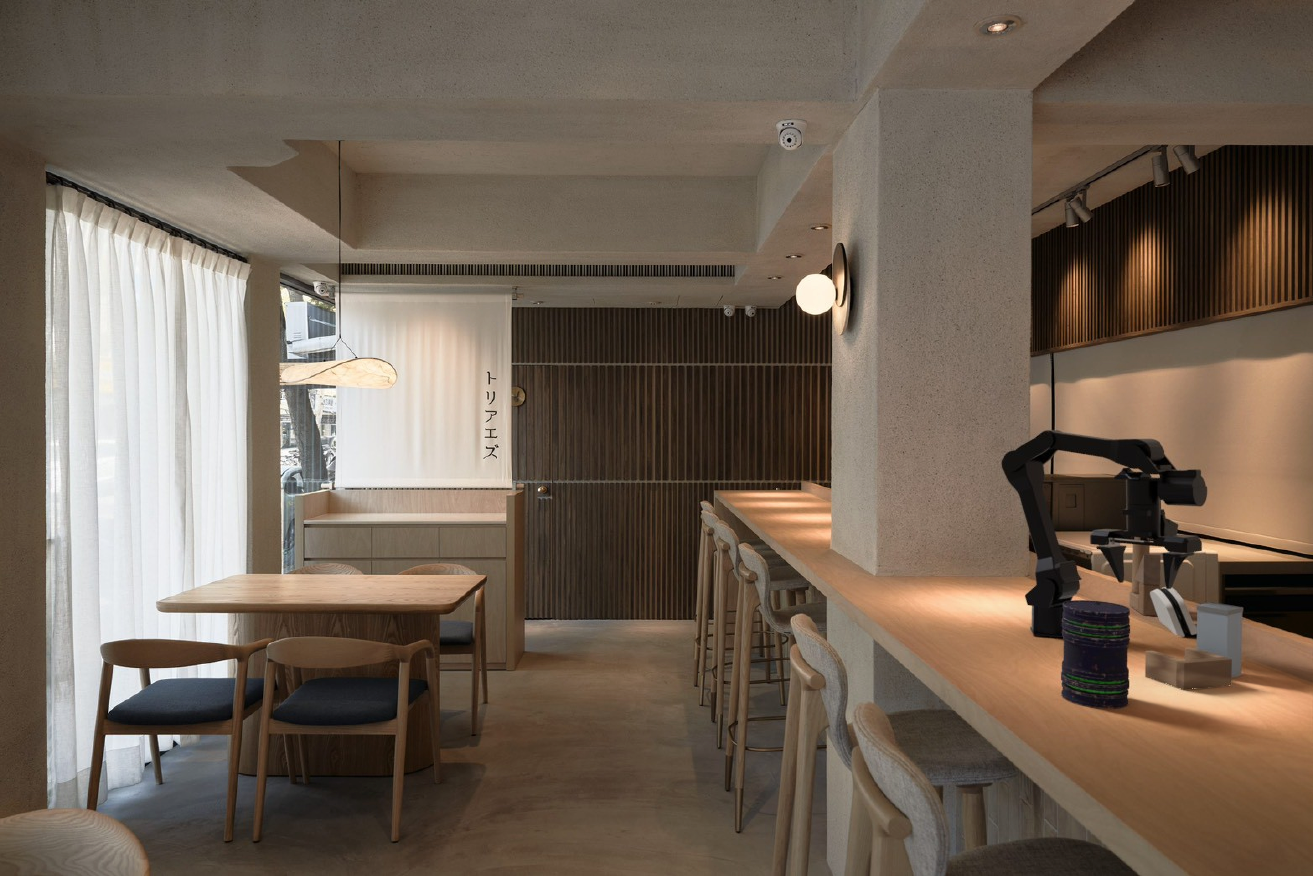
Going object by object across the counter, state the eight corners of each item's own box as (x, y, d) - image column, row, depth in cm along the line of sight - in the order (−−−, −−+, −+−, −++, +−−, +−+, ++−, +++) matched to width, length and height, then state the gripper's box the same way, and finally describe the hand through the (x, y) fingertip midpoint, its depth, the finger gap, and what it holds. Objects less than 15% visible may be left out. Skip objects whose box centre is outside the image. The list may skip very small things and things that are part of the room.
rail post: (1195, 672, 157) (1196, 605, 157) (1210, 668, 160) (1211, 602, 160) (1226, 679, 153) (1227, 610, 153) (1241, 675, 156) (1243, 607, 155)
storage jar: (1126, 713, 135) (1128, 615, 135) (1056, 702, 140) (1057, 608, 140) (1131, 696, 143) (1132, 604, 143) (1065, 686, 149) (1066, 597, 148)
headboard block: (1145, 676, 154) (1145, 651, 154) (1191, 672, 157) (1191, 647, 157) (1183, 690, 147) (1184, 663, 147) (1231, 685, 149) (1231, 659, 149)
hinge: (1206, 639, 182) (1188, 592, 183) (1181, 645, 183) (1163, 599, 184) (1184, 621, 198) (1167, 579, 199) (1161, 627, 199) (1145, 584, 200)
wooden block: (1142, 615, 204) (1144, 537, 204) (1129, 606, 214) (1130, 532, 214) (1160, 616, 203) (1161, 538, 203) (1145, 607, 213) (1146, 532, 213)
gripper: (1216, 504, 166) (1218, 588, 165) (1120, 499, 181) (1121, 576, 181) (1184, 507, 160) (1186, 594, 160) (1087, 502, 176) (1089, 581, 176)
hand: (1144, 585), depth 169 cm, fingers open, 9 cm apart
